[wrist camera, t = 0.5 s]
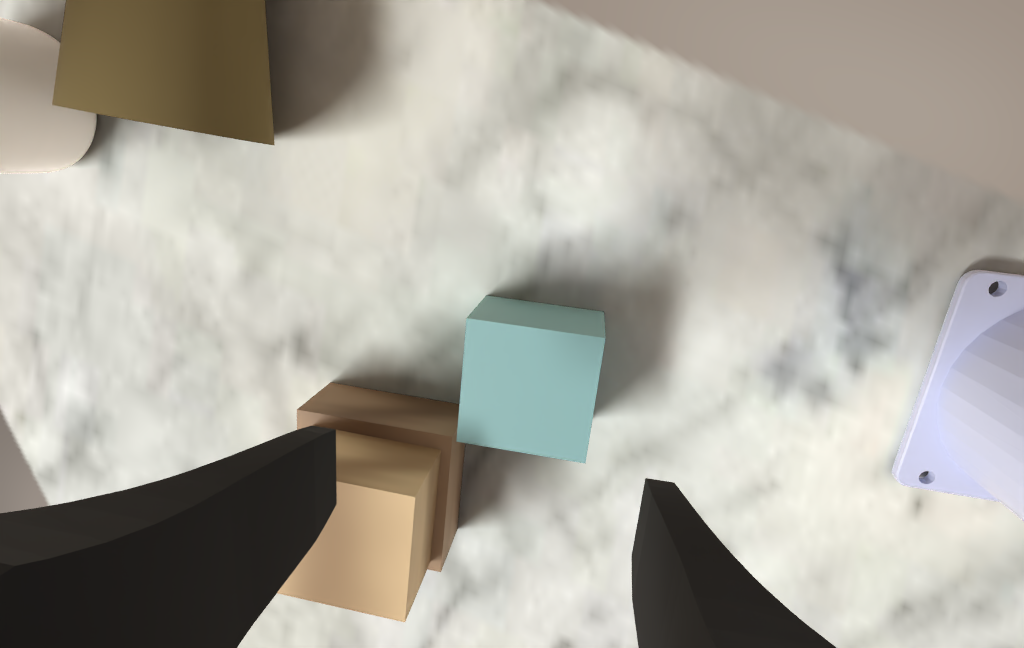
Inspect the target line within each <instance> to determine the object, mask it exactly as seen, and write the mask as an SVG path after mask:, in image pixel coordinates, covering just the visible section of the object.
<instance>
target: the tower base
mask: <svg viewBox="0 0 1024 648" xmlns="http://www.w3.org/2000/svg"><path fill="white" fill-rule="evenodd" d="M458 416H459V404H455V403H449V402H443V401H437V400H431V399H425V398H419V397H413V396H408V395H402V394H396V393H390V392H384V391H378V390H372V389H366V388H360V387H354V386H348V385H342V384H336V383H329V384H328V385H327V386H326V387H324V388H323V389H322V390H321V391H319V392H318V393H317V394H316V395H314V396H313V397H312V398H311V399H310V400H308V401H307V402H306V403H305V404H303V405H302V406H301V407H300V408H298V409H297V430H298V429H301V428H305V427H308V426H312V425H314V426H319V427H325V428H331V429H336V430H340V431H346V432H351V433H356V434H361V435H367V436H372V437H377V438H382V439H387V440H393V441H398V442H403V443H408V444H414V445H419V446H424V447H429V448H435V449H440V450H441V457H440V468H439V478H438V488H437V499H436V509H435V519H434V530H433V540H432V550H431V561H430V564H429V566H428V568H427V569H429V570H434V571H439V572H441V570H442V567H443V565H444V562H445V560H446V557H447V555H448V552H449V549H450V547H451V544H452V542H453V539H454V536H455V534H456V531H457V527H458V517H459V506H460V495H461V485H462V474H463V463H464V453H465V443H462V442H456V440H457V428H458Z"/></svg>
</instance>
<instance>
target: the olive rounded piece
mask: <svg viewBox="0 0 1024 648" xmlns="http://www.w3.org/2000/svg"><path fill="white" fill-rule="evenodd" d="M52 105H55V106H60V107H65V108H70V109H75V110H80V111H85V112H91V113H96V114H101V115H107V116H112V117H117V118H123V119H128V120H134V121H139V122H144V123H150V124H155V125H161V126H166V127H172V128H177V129H183V130H189V131H194V132H200V133H205V134H211V135H217V136H222V137H228V138H234V139H239V140H245V141H251V142H257V143H263V144H269V145H274V130H273V115H272V100H271V85H270V70H269V55H268V39H267V24H266V9H265V0H66V5H65V12H64V20H63V27H62V34H61V42H60V49H59V57H58V64H57V71H56V79H55V86H54V94H53V101H52Z"/></svg>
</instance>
